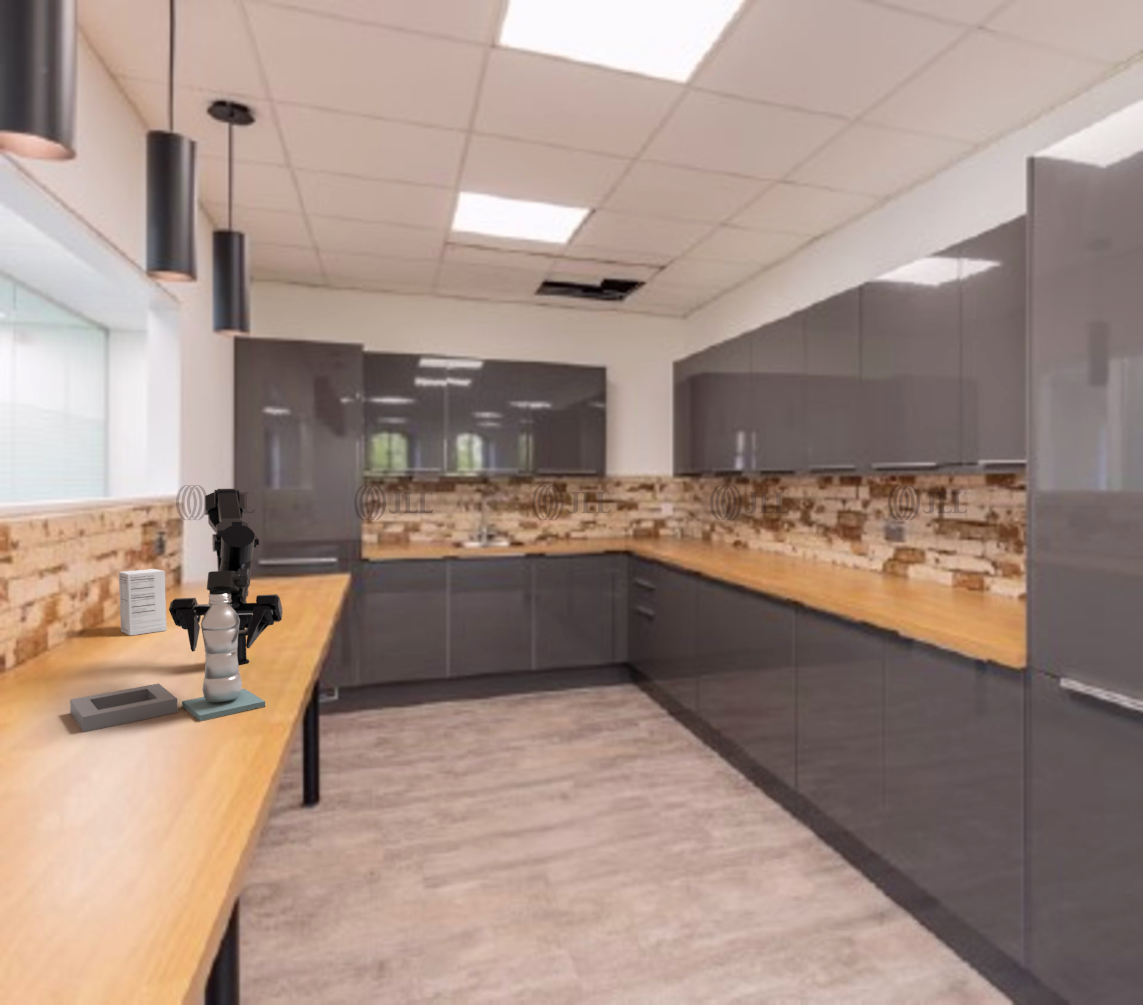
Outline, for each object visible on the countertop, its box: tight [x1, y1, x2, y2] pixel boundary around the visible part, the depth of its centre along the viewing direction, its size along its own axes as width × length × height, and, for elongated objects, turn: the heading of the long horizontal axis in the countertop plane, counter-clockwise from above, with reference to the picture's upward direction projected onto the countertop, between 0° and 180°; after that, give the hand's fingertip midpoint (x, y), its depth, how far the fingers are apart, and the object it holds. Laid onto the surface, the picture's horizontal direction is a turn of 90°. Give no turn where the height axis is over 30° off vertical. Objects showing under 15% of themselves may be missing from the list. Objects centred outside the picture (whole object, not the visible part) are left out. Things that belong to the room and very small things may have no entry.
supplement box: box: [118, 568, 167, 637], centre depth 193 cm, size 10×9×17 cm
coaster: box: [181, 688, 266, 722], centre depth 128 cm, size 11×11×1 cm
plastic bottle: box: [200, 591, 243, 702], centre depth 127 cm, size 6×7×20 cm
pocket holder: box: [69, 682, 178, 733], centre depth 125 cm, size 14×13×2 cm
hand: (220, 648), depth 126 cm, fingers open, 9 cm apart
